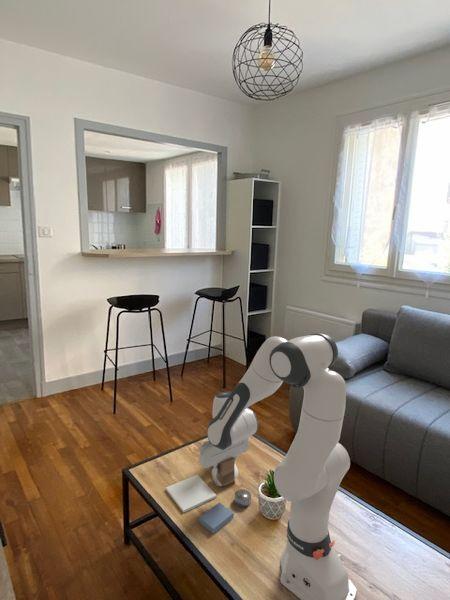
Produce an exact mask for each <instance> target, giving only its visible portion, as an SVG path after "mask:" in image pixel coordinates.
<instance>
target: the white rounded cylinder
mask: <svg viewBox="0 0 450 600" xmlns="http://www.w3.org/2000/svg"><path fill="white" fill-rule="evenodd" d="M234 470H235V480H236V479H237V478H238V477H239V469H238V466H237V464H236V463H235V466H234ZM211 477H212V480H213V481H214V484H215V485H216V486H217V487H223V486H222V484H221V483H220V482H219V481H218V480H217V478H216V473H215V472H214V468H213V469H212V468H211Z"/></svg>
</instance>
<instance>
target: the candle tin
mask: <svg viewBox="0 0 450 600" xmlns="http://www.w3.org/2000/svg"><path fill="white" fill-rule="evenodd" d="M251 503H252V493H251V492H250V491H249V490H247V489H238V490H236V491H235V493H234V505H236V506H237V507H238V508H242V509H245V508H249V506H251Z"/></svg>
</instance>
